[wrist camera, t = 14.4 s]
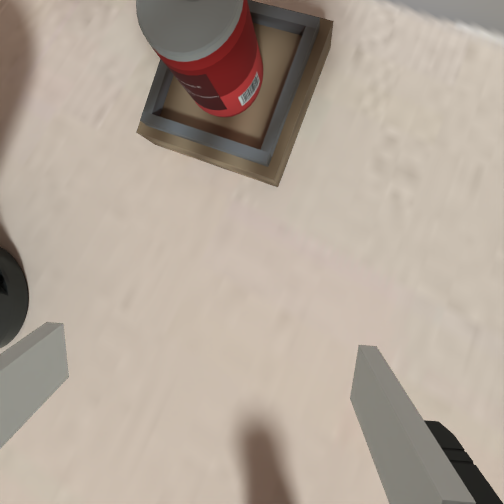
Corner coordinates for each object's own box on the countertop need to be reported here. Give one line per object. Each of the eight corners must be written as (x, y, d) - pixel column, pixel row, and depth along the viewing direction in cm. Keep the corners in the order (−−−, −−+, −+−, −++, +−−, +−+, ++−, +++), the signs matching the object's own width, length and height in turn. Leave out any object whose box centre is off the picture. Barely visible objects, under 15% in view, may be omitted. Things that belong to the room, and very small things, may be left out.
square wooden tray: (154, 144, 38) (128, 127, 32) (198, 12, 36) (179, -29, 31) (277, 187, 35) (272, 176, 30) (330, 47, 34) (334, 9, 29)
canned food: (263, 35, 31) (240, -76, 20) (266, 116, 31) (243, 47, 20) (190, 46, 33) (132, -53, 22) (193, 124, 33) (136, 63, 22)
